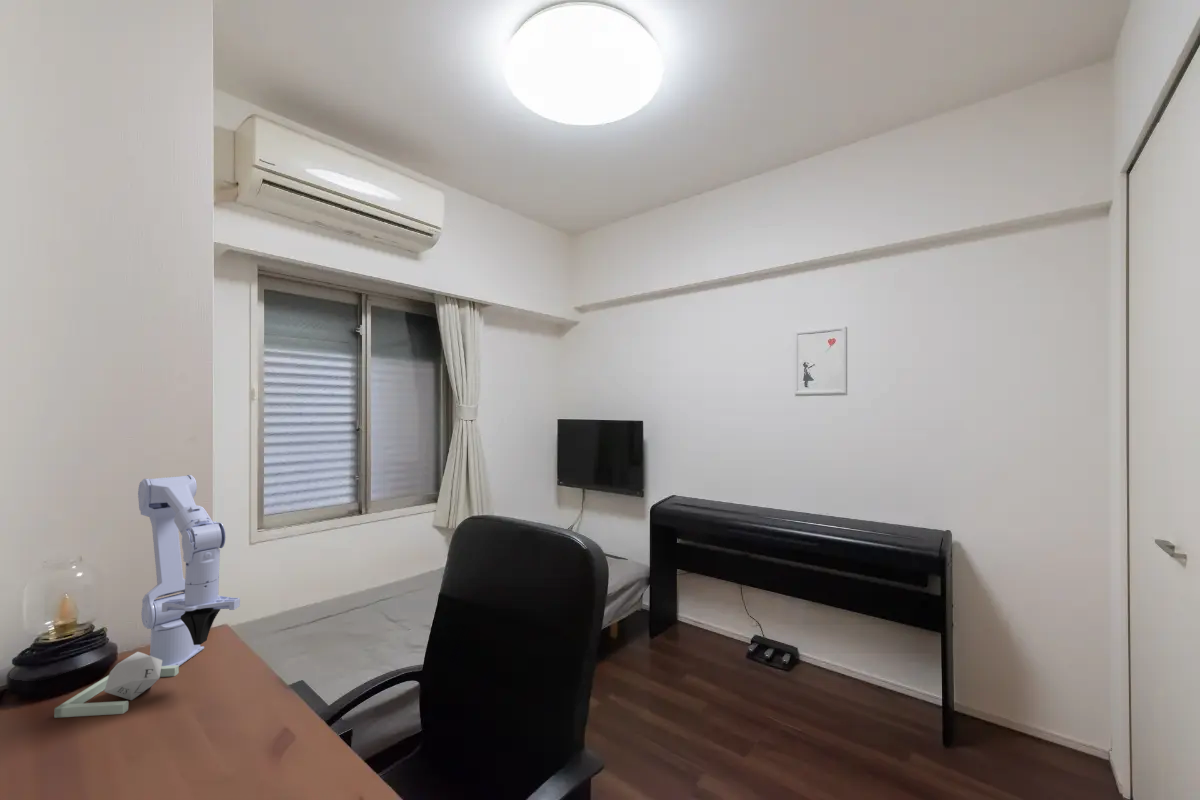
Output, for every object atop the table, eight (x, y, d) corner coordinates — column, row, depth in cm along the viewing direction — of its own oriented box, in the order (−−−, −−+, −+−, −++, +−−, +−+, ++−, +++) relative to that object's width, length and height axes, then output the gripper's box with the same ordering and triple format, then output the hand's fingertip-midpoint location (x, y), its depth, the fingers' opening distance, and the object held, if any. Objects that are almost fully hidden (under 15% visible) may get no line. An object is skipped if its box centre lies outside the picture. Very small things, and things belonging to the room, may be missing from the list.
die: (97, 715, 94) (131, 674, 95) (90, 680, 98) (123, 642, 99) (145, 707, 101) (177, 670, 102) (137, 675, 105) (167, 640, 106)
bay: (119, 676, 106) (120, 668, 106) (178, 673, 107) (178, 665, 107) (54, 717, 92) (54, 708, 92) (122, 713, 93) (123, 704, 93)
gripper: (150, 587, 98) (148, 653, 98) (225, 586, 100) (223, 650, 100) (177, 576, 105) (175, 637, 105) (246, 574, 107) (244, 634, 107)
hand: (200, 642), depth 103 cm, fingers closed
